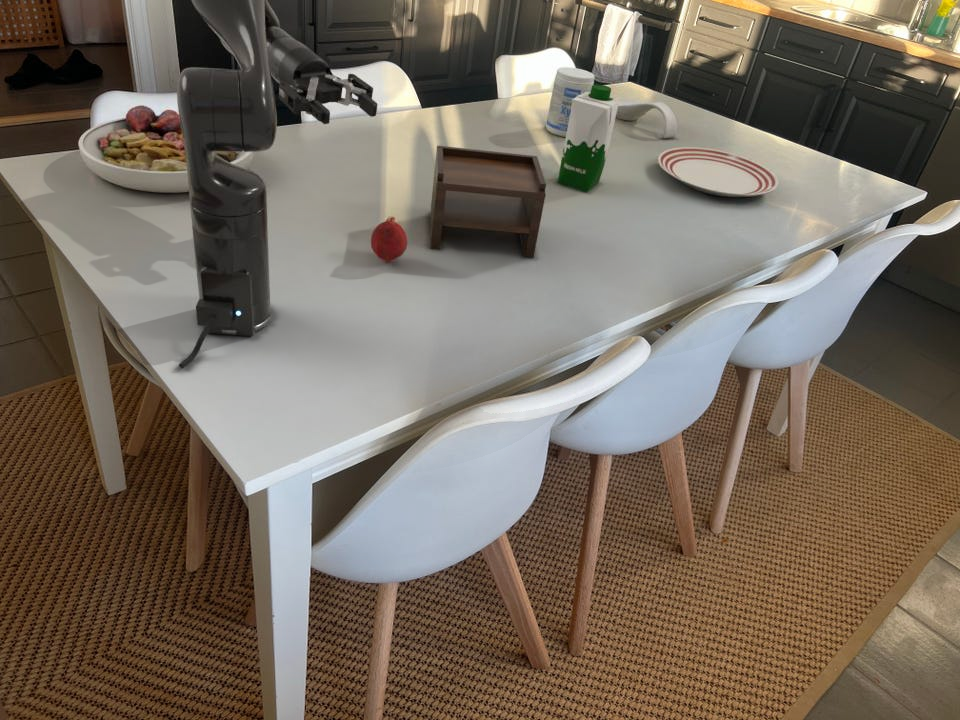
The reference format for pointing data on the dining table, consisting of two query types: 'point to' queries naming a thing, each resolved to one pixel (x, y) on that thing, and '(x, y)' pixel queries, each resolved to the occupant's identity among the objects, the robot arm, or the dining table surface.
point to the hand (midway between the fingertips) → (351, 114)
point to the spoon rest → (637, 109)
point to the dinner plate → (718, 172)
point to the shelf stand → (487, 193)
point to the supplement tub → (566, 97)
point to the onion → (389, 240)
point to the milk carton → (588, 138)
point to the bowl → (144, 151)
